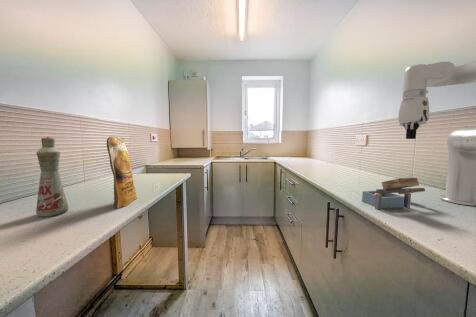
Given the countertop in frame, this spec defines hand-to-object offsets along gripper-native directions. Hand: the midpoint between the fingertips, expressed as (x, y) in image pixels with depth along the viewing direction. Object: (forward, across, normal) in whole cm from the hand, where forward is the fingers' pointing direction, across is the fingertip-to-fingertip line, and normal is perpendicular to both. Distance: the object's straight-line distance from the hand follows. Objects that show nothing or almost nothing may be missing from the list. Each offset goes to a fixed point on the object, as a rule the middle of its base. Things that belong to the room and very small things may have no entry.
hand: (410, 138), depth 88 cm
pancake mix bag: (+27, +11, +124) cm, 127 cm away
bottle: (+27, +1, +144) cm, 147 cm away
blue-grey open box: (+27, -5, +17) cm, 32 cm away
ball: (+25, -3, +17) cm, 30 cm away
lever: (+21, -9, +13) cm, 26 cm away
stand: (+27, -10, +17) cm, 34 cm away
